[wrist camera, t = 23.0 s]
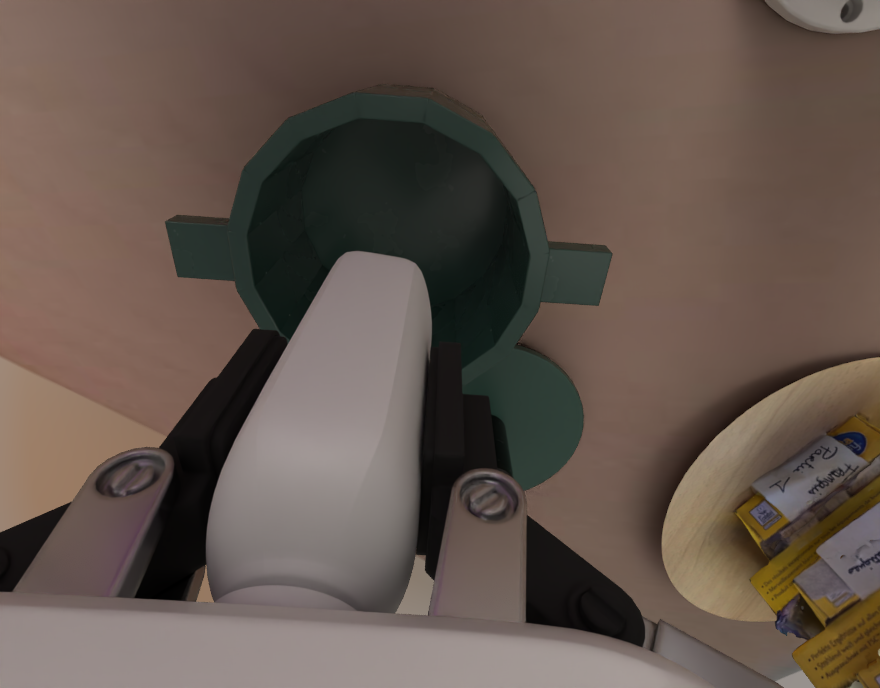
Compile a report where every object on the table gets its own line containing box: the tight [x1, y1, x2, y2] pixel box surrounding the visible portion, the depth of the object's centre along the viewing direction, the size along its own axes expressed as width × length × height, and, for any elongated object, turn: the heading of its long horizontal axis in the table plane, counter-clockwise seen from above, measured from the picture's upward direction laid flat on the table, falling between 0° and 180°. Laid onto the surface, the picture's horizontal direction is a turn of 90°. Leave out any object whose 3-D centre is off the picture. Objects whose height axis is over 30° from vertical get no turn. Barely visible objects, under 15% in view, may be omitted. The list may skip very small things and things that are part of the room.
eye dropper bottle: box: [206, 251, 432, 613], centre depth 9 cm, size 4×6×12 cm
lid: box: [462, 345, 584, 491], centre depth 31 cm, size 14×14×6 cm
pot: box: [165, 84, 612, 386], centre depth 23 cm, size 13×18×8 cm
